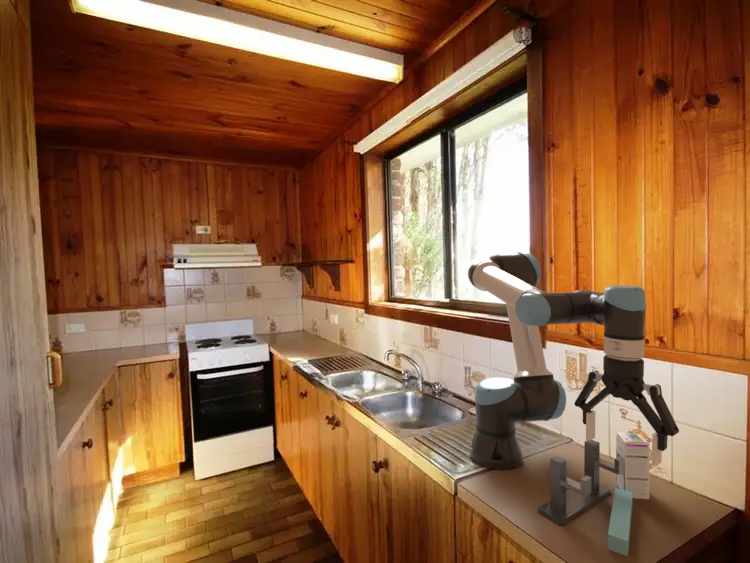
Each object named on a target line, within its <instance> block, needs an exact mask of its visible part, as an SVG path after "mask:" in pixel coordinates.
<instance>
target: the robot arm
mask: <svg viewBox="0 0 750 563" xmlns="http://www.w3.org/2000/svg"><path fill="white" fill-rule="evenodd" d="M541 275H542V270H541V265H540V263H539V261H538V260H537V258H536V257H535V256H534V255H532V254H531V253H529V252H520V251H519V252H518V251H516V252H496V253H495V252H487V253H483V254H481V255H479V256H477V257H475V258H474V259H473V260H472V261H471V262H470V264H469V265H468V269H467V276H468V280H469V282H470V283H471V285H472V286H473V287H475V288H476V289H478V290H479V291H481V292H488V293H490V294H491V295H493V296H494V297H496V298H498V300H499V299H500V301H502V302H503V303H505V305H506V306H505V307H506V311H507V317H508V323H509V327H510V328H509V329H510V335H511V339H512V340H511V341H512V346H513V351H514V357H515V364H516V365H515V366H516V369H517V371H516V373H515V374H514V376H513V379H512V378H509V377H504V376H503V377H499V376H497V377H488V378H484V379H483V380H481V381H479V382H478V383H477V385H476V387H475V395H474V402H475V431H474V434H473V436H472V437H473V438H472V440H471V443H470V447H469V448H470V450H469V453H470V454H469V455H470V458H471V459H472V460H473V462H475V463H476V464H478V465H480V466H483V467H485V468H489V469H494V470H502V471H503V470H504V471H505V470H512V469H516V468H518V467H519V466H521V464H522V462H523V452H522V450H521V447H520V443H519V440H518V437H517V424H519V423H527V422H528V423H529V422H531V423H532V422H541V421H543V422H547V421H549V420H550V421H551V420H556V419H559V418H560V417H561V416H562V415H563V413H564V411H565V410H566V405H567V395H566V391H565V388H564V386H563V385H562V383H561V382H560V381H559V380H556V379H554V373H553V372H552V371H550V370H548V369H547V364H546V360H545V359H546V358H545V354H544V348H543V344H542V338H541V332H540V329H539V327H541V326H548V325H549V326H550V325H567V324H569V325H570V324H588V323H589V324H596V325H601V326H603V329H604V330H603V353H604V354H605V355H604V356H603V360H602V361H603V363H602V364H603V365H602V366H603V368H602V370H603V374H602V373H600V372H599V370H593V371H590V372H589V373H588V376H587V377H588V378H587V382H586V383H585V385H584V386H583V388H582V390H581V391H580V393H579V394H578V395H577V398H576V399H575V401H574V404H573V405H574V406H575V407H579V408H580V409H581V411H582V423H583V424H584V425H585V441H587V440H588V441H590V440H594V439H595V438H596V410H593V409H594V408H595V407H596V406H597V405H599V404H600V403H601V402H602V401H604V400H605V399H606V398H607V397H608V396H610V395H611V396H612V397H613V398H615V399H616V398H617V399H622V400H623V401H627V402H628V401H631V403H632V404H633V405H634V406H635V407H637V408H638V410H639V411H640V412H641V414H642V415H643V416H644V418H645V419H646V420H647V422H648V424H650V426H651V427H652V429H653V430H654V433H652V438H651V439H652V440H651V465H652V466H654V467H657V466H658V465H661V464H662V459H663V458H662V452H664V451H666V450H667V448H668V436H669V437H674V436H676V435H678V433H680V429H679V427H678V425H677V422H676V421H675V419H674V416H673V415H672V413H671V411H670V409H669V407H668V405H667V402H666V401H665V398H664V396H663V393H662V392H663V390H662V386H661V385H660V384H659V383H657V384H654V385H653V384H648V383H645V380H644V375H645V373H644V372H645V361H644V359H643V358H644V357H645V333H646V331H645V328H646V327H645V326H646V309H647V303H646V292H645V289H644V288H643V287H641V286H636V285H631V286H630V285H608V286H606V287H605V289H604V292H600V291H598V292H597V291H592V290H588V289H586V290H585V289H582V290H574V291H571V292H568V291H566V292H547V291H545V290H542V289H540V288H539V287H537V285H538V284H539V283H540V281H541ZM598 382H602V383H603V384H604V388H603V389H601V390H600V391H599V393H597V394H596V395H595V396H593V397H592V398H591V399H590V400H589V401H588V402H587V400H588V399H589V397H590V395H591V394H592V392H593V390H594V389H595V387H596V386H597V384H598ZM644 391H645V392H646V394H647V395H648V396H649V397H650V400H651V402H652V404H653V406H654V408H655V410H656V411H655V410H654V409H653V407H652V406H651V405H650V404H649V401H647V398H646V396H645V395H644V393H643V392H644Z"/></svg>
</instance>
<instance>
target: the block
mask: <svg viewBox="0 0 750 563" xmlns="http://www.w3.org/2000/svg"><path fill="white" fill-rule="evenodd" d="M614 489H615V490H614V494H613V495H614V496H613V501H612V508H611V512H610V520H609V525H608V532H607V550H608V551H611V552H615V553H617V554H619V555H623V556H624V557H625V556H626V557H629V547H630V538H631V537H630V535H631V523H632V516H633V515H632V514H633V513H632V512H633V498H632V492H630V491H626V490H622V489H619V488H618V487H615V488H614Z"/></svg>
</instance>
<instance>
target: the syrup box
mask: <svg viewBox="0 0 750 563" xmlns="http://www.w3.org/2000/svg"><path fill="white" fill-rule="evenodd" d="M615 434H616V435H615V436H616V437H615V441H616V443H615V450H616V451H615V458H617V457H619V456H621V457H624V472H622V473H621V474H619V475H618V474H615V477H616V486H617V488H618V489H622V490H626V491H630V492H632V499H637V500H639V499H640V500H650V487H651V486H650V442H648V440H646V439H645V437H644V436H643V435H642V434H640V433H638V432H628V431H616V433H615Z"/></svg>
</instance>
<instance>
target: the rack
mask: <svg viewBox="0 0 750 563" xmlns="http://www.w3.org/2000/svg"><path fill="white" fill-rule="evenodd" d="M600 444H601V443H600V442H598V441H596V440H594V439H592V440H590V441H588V440H585V441H584V452H583V453H584V454H583V455H584V461H583V462H584V463H583V464H584V467H583V470H584V472H583V473H584V474H583V477H582V478H580V482H578V481H576V480H574V479H572V478H570V477H568V476H567V459H565V458H563V457H560V456H559V455H555V456H552V457H551V458H550V459H549V460H550V461H549V474H550V475H549V480H550V481H549V484H550V485H549V494H550V495H549V497H550V498H549V501H547V502H545V503H544V504H542V505H540V506H539V507H537V513H538V514H539V515H542V516H544V517H546V518H547V519H549V520H550V521H553V522H554V523H556V524H557V525H558V526H561V527H563V526H564V525H566V524H567V523H569V521H571V520H573V519H574V518H576V517H577V516H579V515H580V514H582V513H584V511H586V510H588V509H589V508H591V507H592V506H593V505H595V504H596V503H598V502H599V501H601V500H602V499H603V498H605V497H607V496H608V495H609V494H611V493H612V489H611V488H610V487H607V486H606V485H604V484H601V483H600V468H601V469H604V470H606V471H608V472H611V473H613V474H615V475H616V474H618V475H619V474H621V473H622V472H624V457H621V456H619V457H617V458H616V457H615V458H614V462H610V461H608V460H606V459H603V458H601V456H600V450H601V449H600V448H601V447H600Z"/></svg>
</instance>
